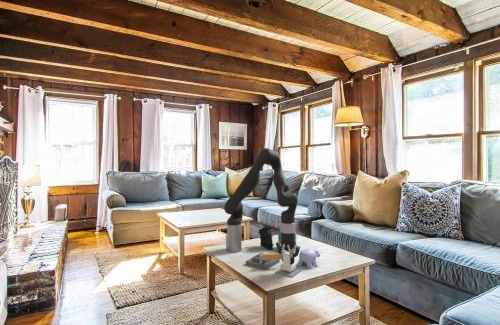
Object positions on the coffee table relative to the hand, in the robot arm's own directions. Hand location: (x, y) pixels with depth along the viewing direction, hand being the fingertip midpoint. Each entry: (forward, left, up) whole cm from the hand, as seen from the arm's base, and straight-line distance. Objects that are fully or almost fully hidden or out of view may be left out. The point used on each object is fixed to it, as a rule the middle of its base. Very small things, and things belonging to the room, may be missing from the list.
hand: (288, 263), depth 153 cm
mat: (0, 0, -5) cm, 5 cm away
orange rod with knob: (-11, +1, 0) cm, 11 cm away
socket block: (-18, +3, -5) cm, 19 cm away
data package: (-19, +34, -5) cm, 39 cm away
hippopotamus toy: (+5, +16, -5) cm, 18 cm away
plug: (0, 0, -3) cm, 3 cm away
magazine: (-32, +28, -5) cm, 43 cm away
